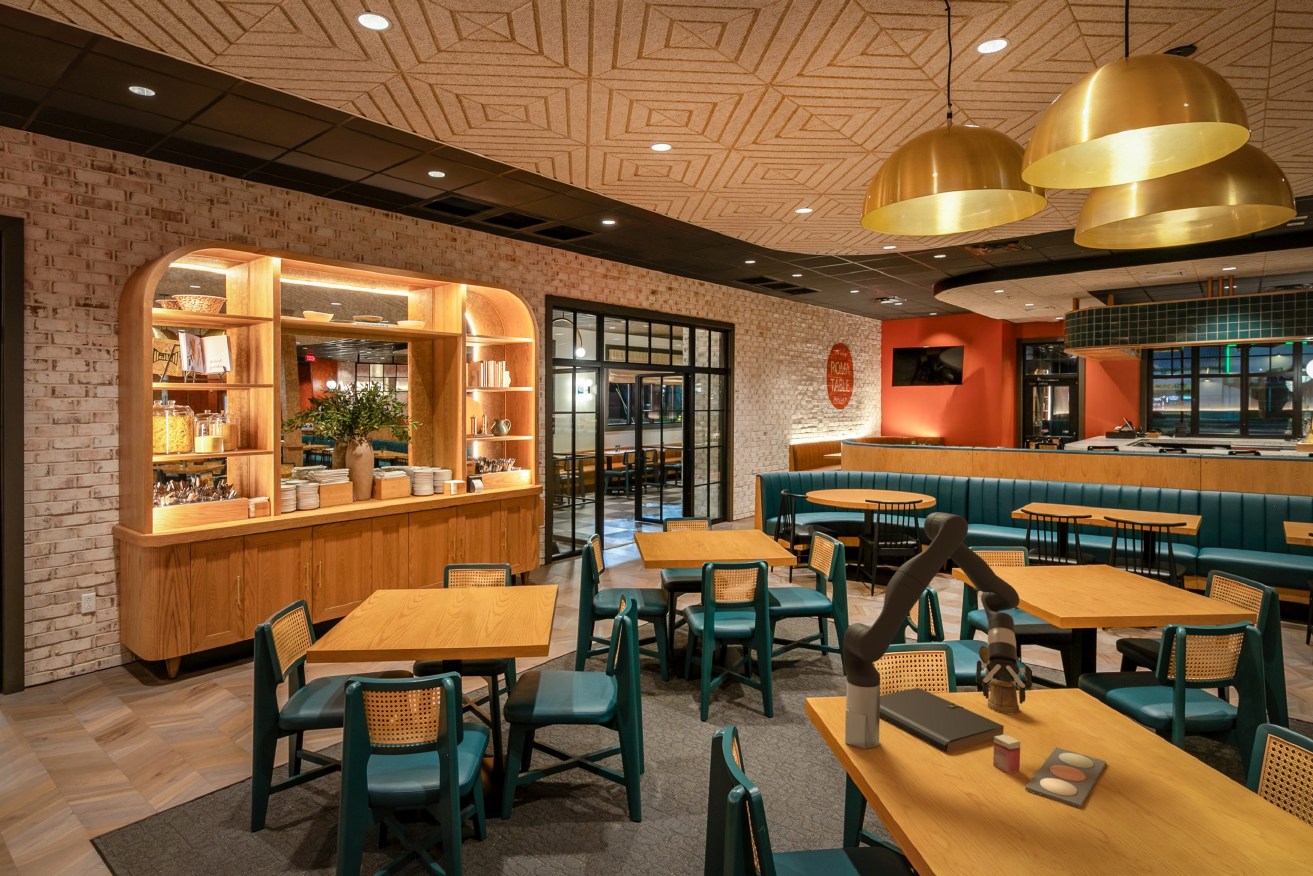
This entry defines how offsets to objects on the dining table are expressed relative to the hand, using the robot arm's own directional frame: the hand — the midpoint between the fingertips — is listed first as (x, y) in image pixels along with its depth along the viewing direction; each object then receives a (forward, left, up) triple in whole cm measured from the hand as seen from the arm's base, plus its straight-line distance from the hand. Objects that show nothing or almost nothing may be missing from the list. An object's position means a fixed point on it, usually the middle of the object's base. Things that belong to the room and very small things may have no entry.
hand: (1004, 700), depth 195 cm
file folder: (+5, +22, -15) cm, 27 cm away
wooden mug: (+33, +11, -15) cm, 38 cm away
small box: (-10, -4, -15) cm, 18 cm away
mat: (-4, -17, -14) cm, 22 cm away
